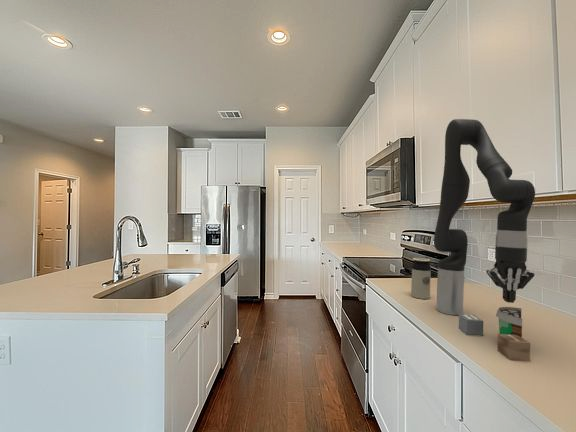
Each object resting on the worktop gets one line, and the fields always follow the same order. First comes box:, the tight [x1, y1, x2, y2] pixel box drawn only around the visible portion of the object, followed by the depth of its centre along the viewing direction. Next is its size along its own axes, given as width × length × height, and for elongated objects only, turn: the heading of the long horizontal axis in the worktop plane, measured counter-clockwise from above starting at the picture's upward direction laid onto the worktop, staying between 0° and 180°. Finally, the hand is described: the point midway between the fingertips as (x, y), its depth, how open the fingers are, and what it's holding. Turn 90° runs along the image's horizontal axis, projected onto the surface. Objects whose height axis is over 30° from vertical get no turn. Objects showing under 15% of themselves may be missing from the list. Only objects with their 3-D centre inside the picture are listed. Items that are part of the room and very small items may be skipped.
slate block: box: [458, 314, 484, 337], centre depth 92 cm, size 5×5×5 cm
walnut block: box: [497, 333, 531, 362], centre depth 77 cm, size 5×5×5 cm
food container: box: [495, 306, 523, 338], centre depth 85 cm, size 12×6×10 cm, turn 141°
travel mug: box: [410, 257, 432, 300], centre depth 131 cm, size 8×8×18 cm
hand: (508, 301), depth 85 cm, fingers closed
